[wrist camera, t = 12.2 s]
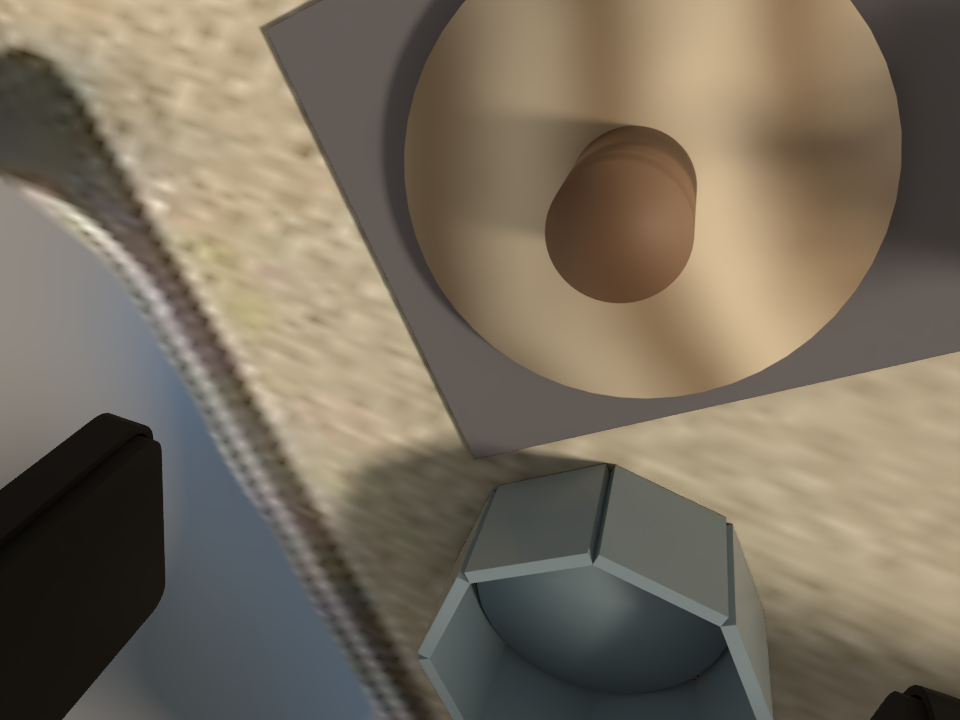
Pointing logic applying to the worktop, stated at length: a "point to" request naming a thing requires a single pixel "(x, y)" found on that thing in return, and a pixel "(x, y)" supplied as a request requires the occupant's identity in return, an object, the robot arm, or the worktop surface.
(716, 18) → the lid
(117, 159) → the worktop surface
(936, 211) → the mat
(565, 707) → the bowl
